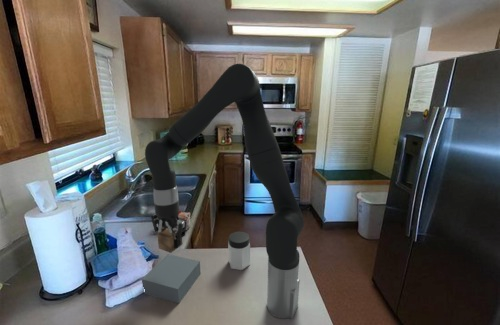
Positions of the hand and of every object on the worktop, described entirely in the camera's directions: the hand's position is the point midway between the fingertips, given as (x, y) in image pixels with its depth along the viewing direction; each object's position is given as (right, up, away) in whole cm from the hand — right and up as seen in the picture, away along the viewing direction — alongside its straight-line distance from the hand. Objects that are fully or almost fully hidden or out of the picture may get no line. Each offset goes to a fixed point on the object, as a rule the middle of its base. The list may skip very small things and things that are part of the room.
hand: (170, 244), depth 81 cm
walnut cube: (0, -1, 0) cm, 1 cm away
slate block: (0, -15, +4) cm, 16 cm away
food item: (-10, -6, +40) cm, 41 cm away
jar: (+23, -13, +14) cm, 30 cm away
